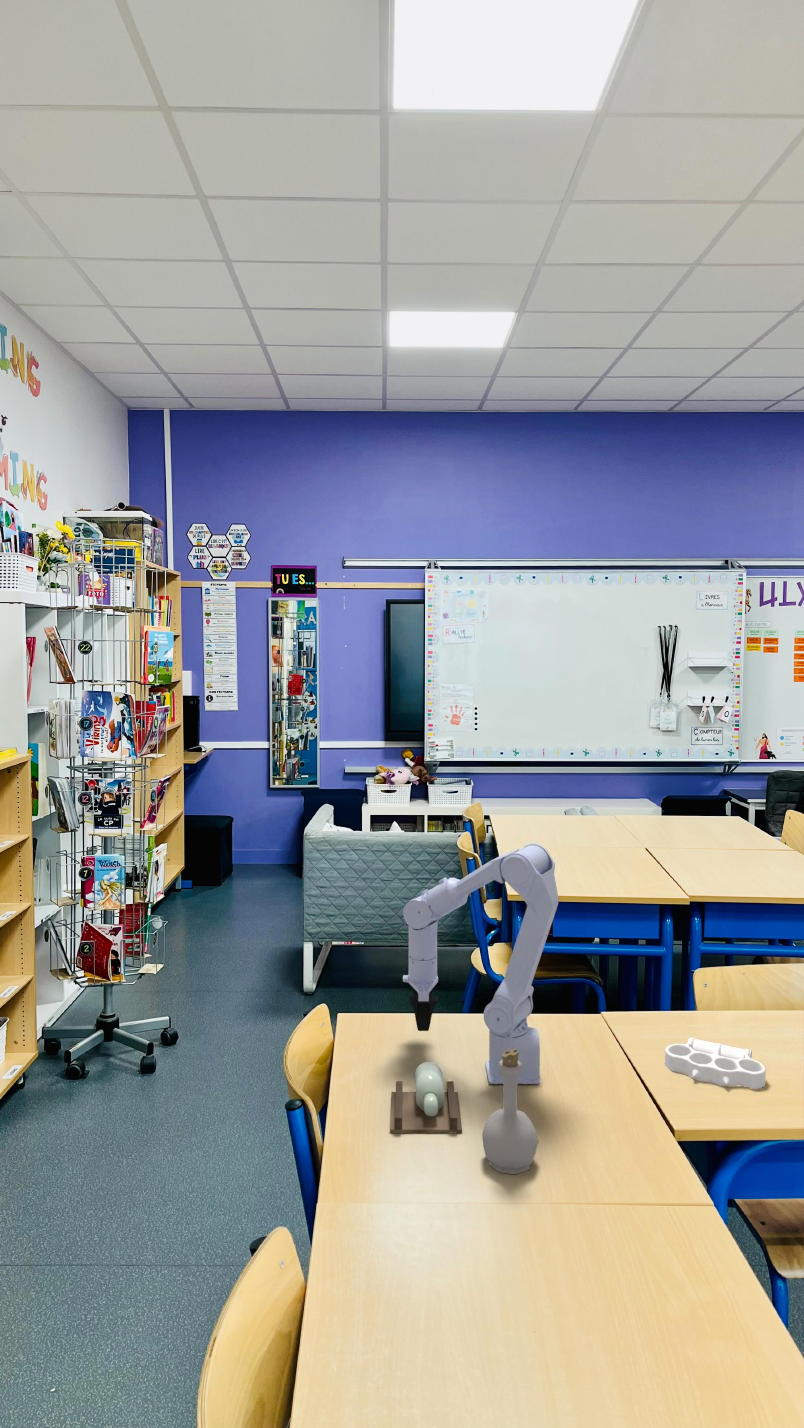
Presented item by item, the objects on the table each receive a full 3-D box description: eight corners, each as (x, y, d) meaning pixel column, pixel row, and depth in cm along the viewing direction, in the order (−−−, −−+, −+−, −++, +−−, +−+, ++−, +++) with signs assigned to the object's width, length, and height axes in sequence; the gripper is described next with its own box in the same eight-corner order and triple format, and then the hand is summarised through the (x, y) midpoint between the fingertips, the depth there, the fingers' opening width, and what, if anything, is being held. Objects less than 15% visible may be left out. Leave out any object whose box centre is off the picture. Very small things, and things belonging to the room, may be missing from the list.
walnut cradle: (457, 1095, 151) (457, 1081, 151) (462, 1133, 139) (462, 1118, 139) (391, 1095, 151) (391, 1081, 151) (390, 1133, 139) (390, 1118, 139)
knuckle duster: (769, 1066, 162) (762, 1101, 149) (673, 1045, 171) (659, 1077, 158) (769, 1049, 162) (762, 1083, 149) (673, 1029, 170) (659, 1060, 158)
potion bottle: (536, 1181, 126) (538, 1066, 125) (478, 1174, 128) (478, 1061, 127) (539, 1148, 135) (540, 1040, 133) (484, 1141, 136) (484, 1035, 135)
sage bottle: (445, 1066, 152) (449, 1100, 140) (437, 1091, 152) (441, 1127, 141) (419, 1058, 152) (421, 1092, 140) (411, 1084, 152) (412, 1119, 141)
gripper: (402, 943, 174) (403, 1006, 175) (402, 969, 159) (402, 1038, 160) (436, 943, 174) (436, 1006, 175) (439, 969, 159) (439, 1038, 160)
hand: (422, 1021), depth 168 cm, fingers open, 7 cm apart
